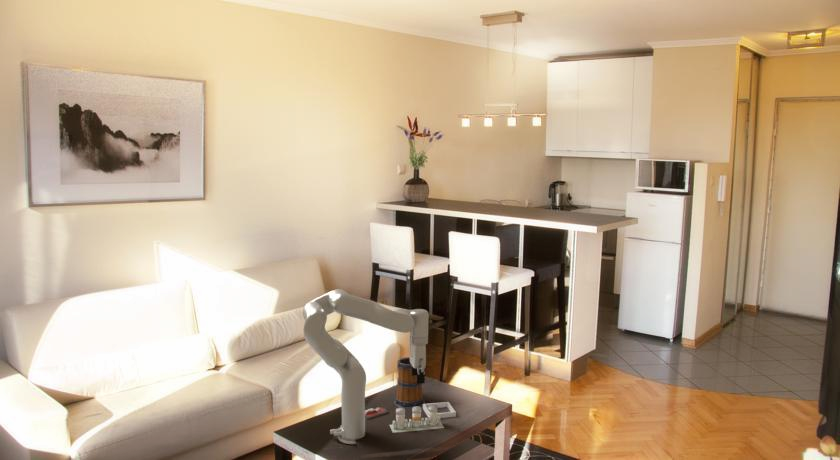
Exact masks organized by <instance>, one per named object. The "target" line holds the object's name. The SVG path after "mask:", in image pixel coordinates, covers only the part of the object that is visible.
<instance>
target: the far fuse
mask: <svg viewBox="0 0 840 460" xmlns="http://www.w3.org/2000/svg"><path fill="white" fill-rule="evenodd" d="M428 411H429V418H428V425H429V426H431V427H435V426H437V413H438V408H437V406H436V405H430V406H428Z"/></svg>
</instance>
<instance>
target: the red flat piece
mask: <svg viewBox="0 0 840 460" xmlns="http://www.w3.org/2000/svg"><path fill="white" fill-rule="evenodd" d="M387 414H388V409H386V408H384V407H382V406H379V407H376V408H372V407H371V408H368V409H365V420H366V421H367V420H371V419H375V418H377V417H380V416H383V415H387Z"/></svg>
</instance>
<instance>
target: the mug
mask: <svg viewBox="0 0 840 460" xmlns="http://www.w3.org/2000/svg"><path fill="white" fill-rule="evenodd" d="M396 363H397V373H398V374H397V389H396V396H394V397H395V398H394V399H395V400H393V402H394V405H395V406H397V408H404V409H412V408H413V407H415V406H419V407H421V408H422V407H423V404H426V401H425V398H424V396H423V390H422V389H423V387H422V384H423V383H421V384H417V375H414V376H412V365H411V363H410V356H409V357H408V356H407V357H401V358H399V359H398V360H397V362H396ZM419 367H420V366H419ZM419 371H420V369H419Z"/></svg>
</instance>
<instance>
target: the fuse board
mask: <svg viewBox="0 0 840 460" xmlns="http://www.w3.org/2000/svg"><path fill="white" fill-rule="evenodd" d="M441 419H442V418H440V417H437V426H435V427H431V426H429V425H428V421H429V418H428V417H421V427H420V428H413V427H412V418H408V419H407V418H405V429H403V430H398V429H396V419H394V420H392V424H389V427H390V429H391V432H392V434H394V433H405V432H415V431H426V430H436V429H445V427H444V425H443V423H442V422H441Z"/></svg>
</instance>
